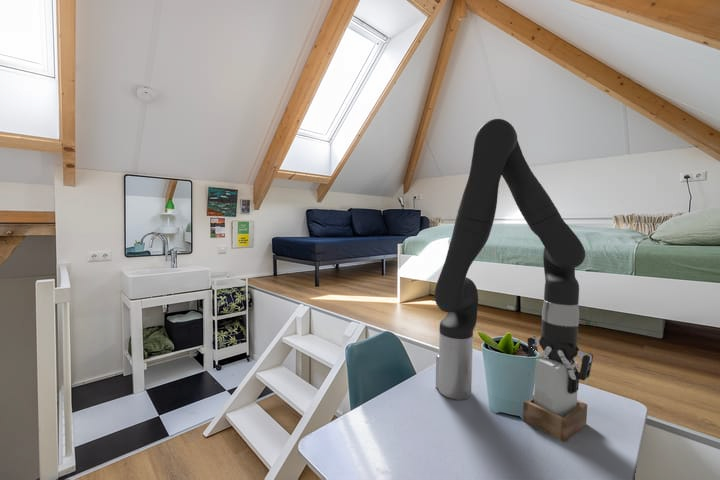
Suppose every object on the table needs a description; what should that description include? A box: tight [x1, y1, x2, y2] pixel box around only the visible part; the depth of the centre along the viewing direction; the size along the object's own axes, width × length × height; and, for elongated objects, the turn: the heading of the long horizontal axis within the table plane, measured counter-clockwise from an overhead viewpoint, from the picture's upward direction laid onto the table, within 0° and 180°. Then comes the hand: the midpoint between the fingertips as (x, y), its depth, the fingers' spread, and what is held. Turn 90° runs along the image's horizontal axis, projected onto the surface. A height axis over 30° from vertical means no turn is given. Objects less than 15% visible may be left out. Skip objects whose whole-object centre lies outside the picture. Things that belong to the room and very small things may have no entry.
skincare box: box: [533, 357, 580, 417], centre depth 77 cm, size 8×6×15 cm
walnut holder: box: [522, 394, 588, 444], centre depth 77 cm, size 10×12×5 cm
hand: (556, 386), depth 77 cm, fingers closed on skincare box, 6 cm apart
